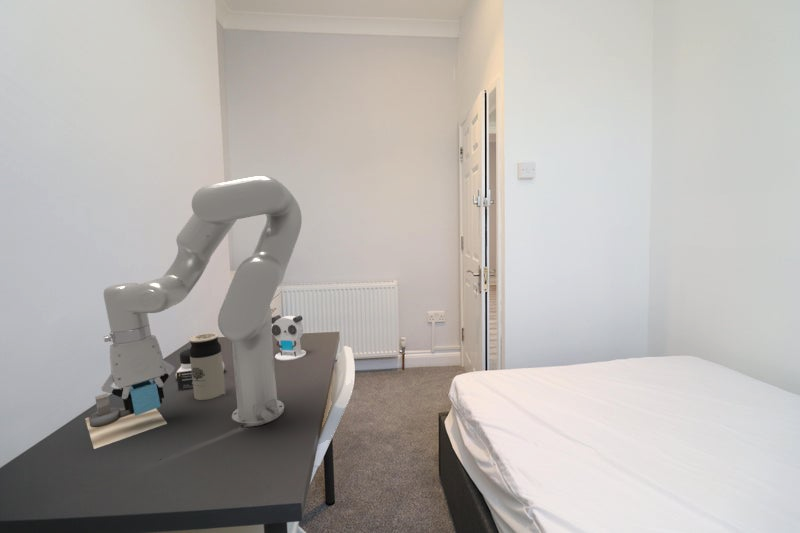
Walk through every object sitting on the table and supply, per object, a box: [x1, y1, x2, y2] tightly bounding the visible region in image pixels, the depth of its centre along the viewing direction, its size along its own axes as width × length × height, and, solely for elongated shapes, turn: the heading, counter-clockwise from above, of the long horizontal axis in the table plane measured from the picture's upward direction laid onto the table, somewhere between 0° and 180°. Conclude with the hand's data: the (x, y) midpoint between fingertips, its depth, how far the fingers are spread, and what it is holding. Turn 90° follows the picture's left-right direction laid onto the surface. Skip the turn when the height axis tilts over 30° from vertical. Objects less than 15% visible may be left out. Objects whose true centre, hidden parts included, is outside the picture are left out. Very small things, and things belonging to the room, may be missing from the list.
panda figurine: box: [272, 314, 307, 361], centre depth 140 cm, size 12×11×15 cm
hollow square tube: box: [129, 379, 161, 416], centre depth 91 cm, size 5×5×6 cm
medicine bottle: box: [175, 348, 194, 392], centre depth 114 cm, size 7×7×12 cm
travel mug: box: [188, 332, 226, 401], centre depth 106 cm, size 8×8×18 cm
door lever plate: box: [84, 392, 168, 450], centre depth 93 cm, size 20×14×8 cm
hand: (145, 406), depth 91 cm, fingers closed on hollow square tube, 5 cm apart
